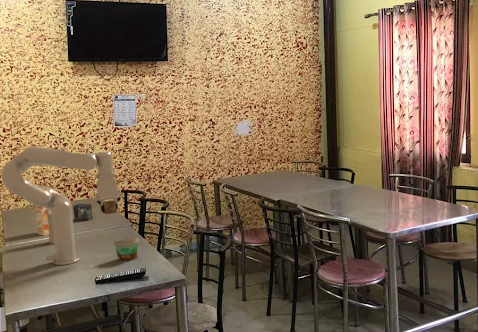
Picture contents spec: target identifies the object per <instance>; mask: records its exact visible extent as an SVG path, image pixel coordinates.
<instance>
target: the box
mask: <svg viewBox="0 0 478 332" xmlns="http://www.w3.org/2000/svg"><path fill="white" fill-rule="evenodd" d="M72 210H73V216H74V217H73V219H74V221H76V222H77V221H80V222H81V221H82V222H84V221H85V222H88V221H91V220H93V218H94V217H93V208H92V203H76V204H74V205H72Z"/></svg>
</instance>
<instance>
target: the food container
mask: <svg viewBox="0 0 478 332" xmlns="http://www.w3.org/2000/svg"><path fill="white" fill-rule="evenodd" d="M138 243H139V238H138V237H136V238H134V239H133V238H132V239H129V238H128V239H127V238H126V239H122V240H119V241H118V240H115V239H114V241H113V245H114V247H115V251H116V255H117V256H116V257H117V260H118V261H122V262H129V261H133V260H136V259H137V258H138ZM135 258H136V259H135Z"/></svg>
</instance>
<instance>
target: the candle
mask: <svg viewBox="0 0 478 332" xmlns="http://www.w3.org/2000/svg"><path fill="white" fill-rule="evenodd" d="M47 218H48V224H49V235H48V237H49V238H48V239H49V244H52V245H53V244H54V245H55V243H54V233H53V224H52V216H51V210H49V209H47Z"/></svg>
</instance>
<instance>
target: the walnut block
mask: <svg viewBox="0 0 478 332" xmlns="http://www.w3.org/2000/svg"><path fill="white" fill-rule="evenodd" d="M103 204H104V209H105V213H104V215H109V214H115V213H117V211H116V203H115V201H114V199H111V200H104V203H103Z"/></svg>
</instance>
